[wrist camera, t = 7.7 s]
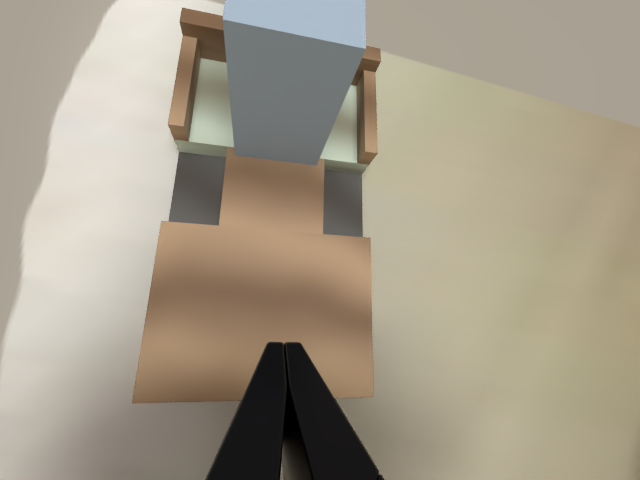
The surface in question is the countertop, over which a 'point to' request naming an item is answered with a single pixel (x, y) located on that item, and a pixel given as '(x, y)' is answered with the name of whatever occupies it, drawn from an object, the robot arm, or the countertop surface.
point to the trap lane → (257, 243)
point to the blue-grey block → (290, 73)
